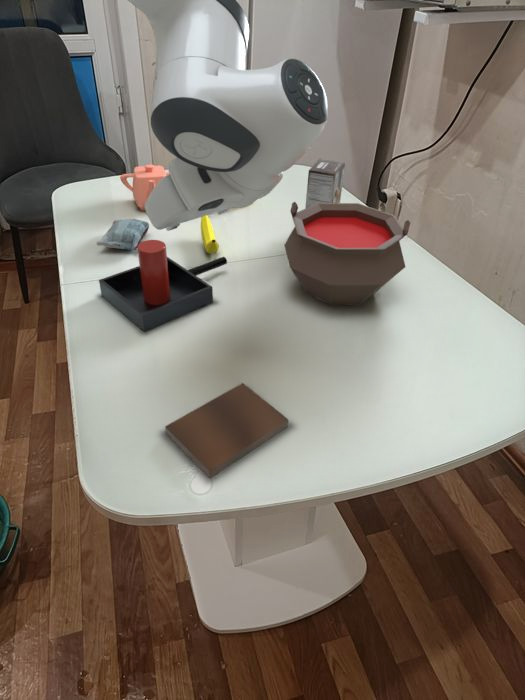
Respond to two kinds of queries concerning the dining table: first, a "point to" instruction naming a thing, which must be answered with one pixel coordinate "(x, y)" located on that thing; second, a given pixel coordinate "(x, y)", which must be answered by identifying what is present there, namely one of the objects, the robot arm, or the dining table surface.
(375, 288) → the brown soup pot
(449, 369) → the dining table surface
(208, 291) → the steel pan
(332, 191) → the coffee box
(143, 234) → the packaged food
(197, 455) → the walnut board
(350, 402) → the dining table surface
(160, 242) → the red cylinder
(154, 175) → the teapot
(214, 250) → the banana
